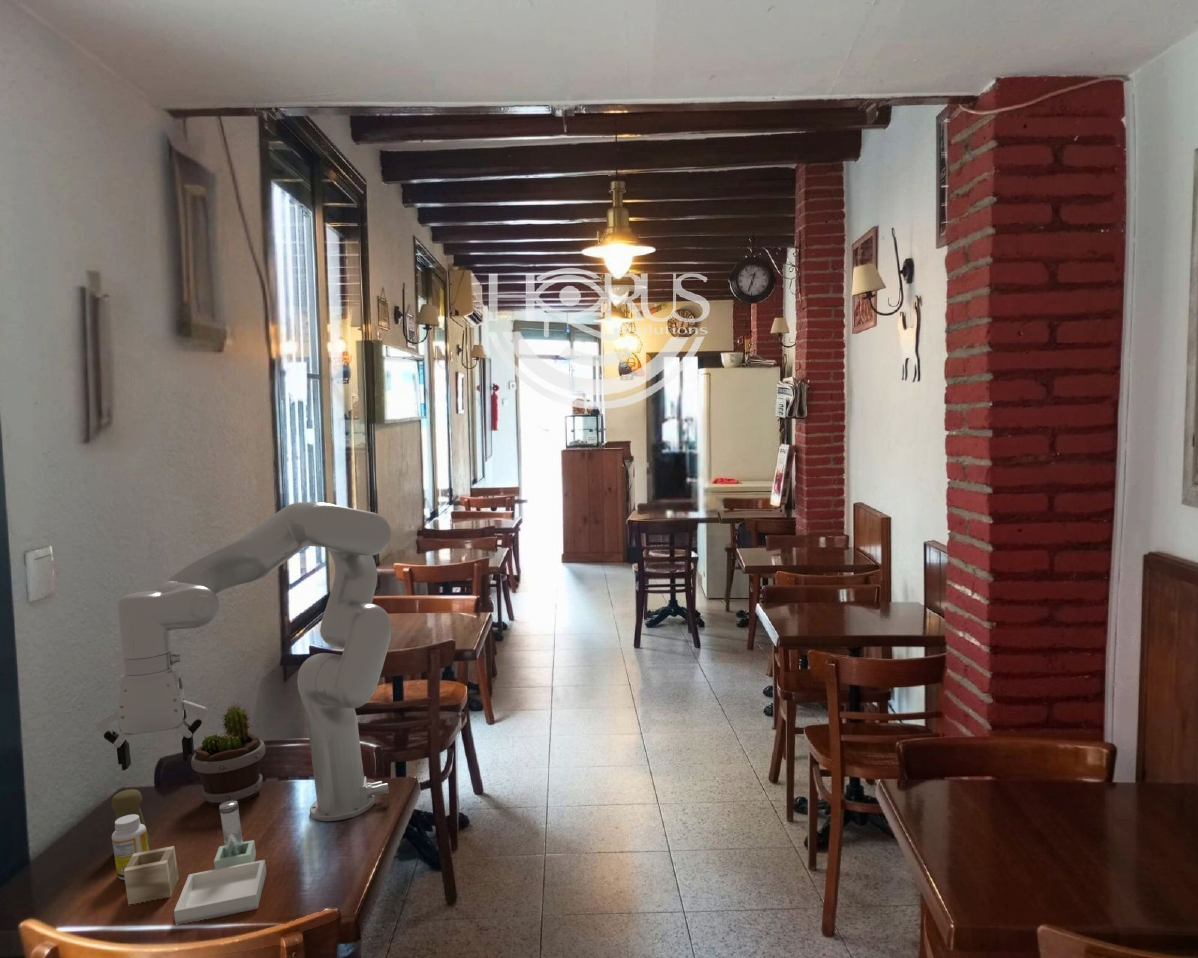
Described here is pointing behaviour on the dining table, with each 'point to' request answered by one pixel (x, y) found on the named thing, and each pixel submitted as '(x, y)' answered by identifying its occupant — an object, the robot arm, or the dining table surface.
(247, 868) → the tray
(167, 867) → the maple block
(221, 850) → the socket
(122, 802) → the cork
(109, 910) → the dining table surface
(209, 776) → the flowerpot
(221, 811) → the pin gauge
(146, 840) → the supplement bottle
